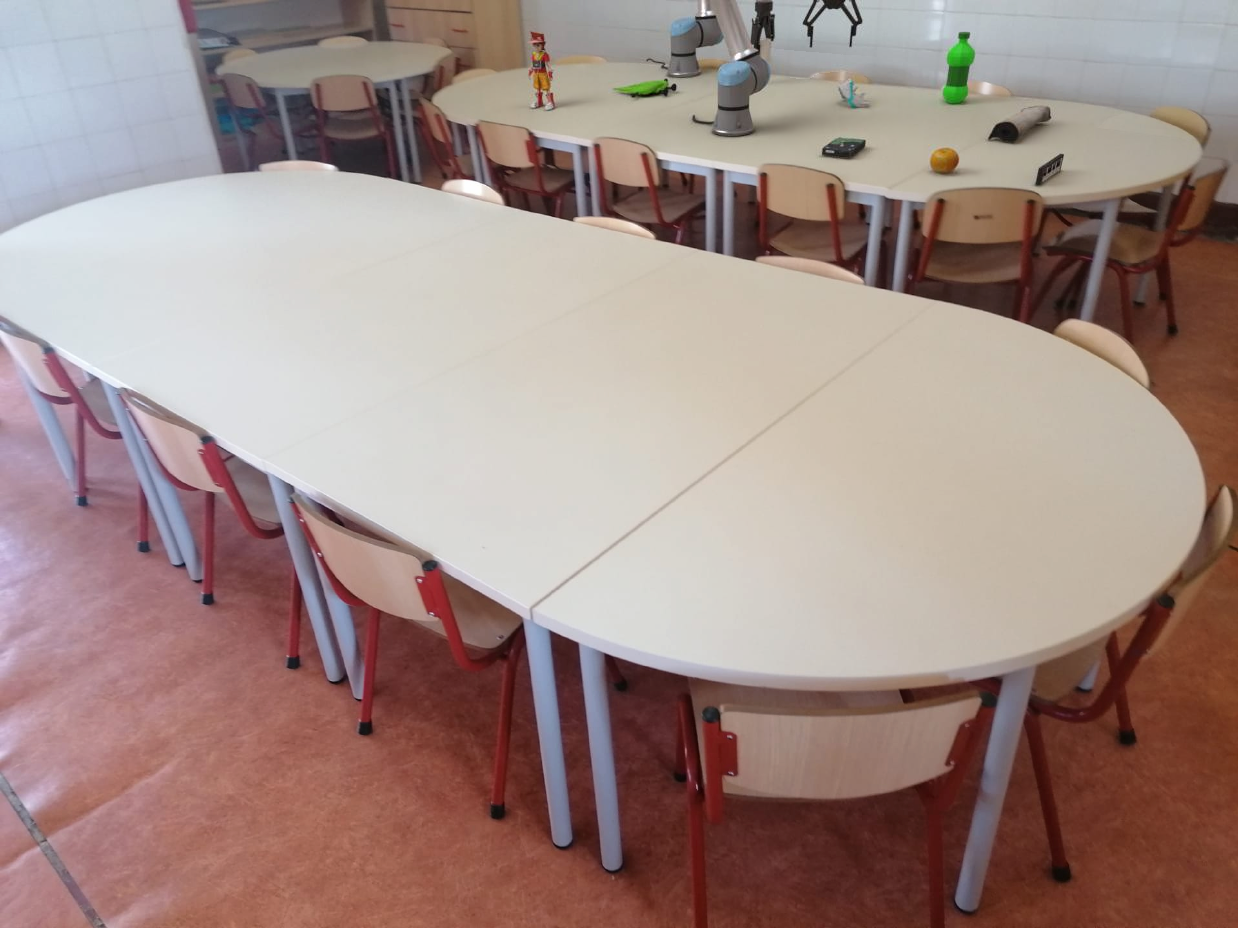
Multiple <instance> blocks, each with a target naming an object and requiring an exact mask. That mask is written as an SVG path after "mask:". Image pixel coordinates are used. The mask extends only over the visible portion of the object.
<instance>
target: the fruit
mask: <svg viewBox="0 0 1238 928" xmlns="http://www.w3.org/2000/svg"><path fill="white" fill-rule="evenodd" d="M959 163H960V156H959V154H958V152H957V151H956V150H955V149H953V148H951V147H942V148H938V149H936V150H934V151H933V153H932V154H931V155H930V159H929V166H930V168H931V169H932V170H933V171H934V172H936V173H939V174H940V173H943V174H944V173H945V174H946V173H951V172H953V171H954V170H956V168H957V167H958V165H959Z"/></svg>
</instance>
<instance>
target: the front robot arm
mask: <svg viewBox="0 0 1238 928" xmlns="http://www.w3.org/2000/svg"><path fill="white" fill-rule="evenodd" d="M710 1H711V4H712V7H713V9H714V12H715V15H716V18H717V20H718V23H719V26H720V29H721V31H722V34H723V37H724V38H723V40H724V42H725V46H726V48H727V50H728V53H729V56H730V59H729V62H726V63H723V64H722V65H720V67H719V68H718V70H717V71H718V72H717V74H718V75H717V111H716V114H715V118H714V120H712V121H706V120H698V119H695V118H696V114H693V115H692V121H693V122H695V123H697V124H704V125H712V133H713V134H715V135H717V136H721V137H741V136H746V135H750V134H752V133H754V127H755V126H754V122H753V118H752V115H751V111H750V96H752V95H754V94H757V93H759V92H761V91H762V90H763V89H764V88H765V87H766V86H767V85H768V83H769V81H770V79H771V67H770V65H769V64H770V63H767V61H766V60H764V59H763V58H761V57H760V54H759V51H758V50H757V49H755V48H754V46H753V45H752V44H751V38H750V36H749V33H748V30H747V27H746V25H745V22H744V19H743V16H742V14H741V11H740V8H739V5H738V2H737V0H710ZM820 1H822V3H823V4H822V6H821V7H820V8H819V10H818V11H817V12H816V13H815V15H814V16H813V17H812V18H811V15H812V13H813V11H814V9H815V8H816V6H817V3H819V2H820ZM846 1H847V0H812V4H811V5H810V6H809V7H810V8H809V9H808V11H807V13H806V15H805V17H804V19H803V21H802V25H803V26H806V27H807V29H806V30H807V32H806V36H807V37H808V38H809V48H813V41H814V40H813V39H814V25H813V24H814V23H815V22H816V21H817V19H819V17H820V16H821V15H822V14H823V12H824V11H825V10H826V9H828V10H840V9H841V11H842V12H843V13H844V15H845V16H846V17H847V19H848V20H849V22H850V23H851V25H850V35H849V48H852V47H853V37H856V35H857V28H858V26H859V25H863V18H862V15H861V12H860V9H859V7H858V4H857V1H856V0H848V1H849V2H851V6H852V8H853V11H854V13H855V16H856V18H855V17H854V16H853V15H852V13H851V12H850V10H849V9H848V8H847V6H846V4H845V2H846ZM810 18H811V19H810ZM809 19H810V20H809ZM856 19H857V20H856ZM808 20H809V21H808Z"/></svg>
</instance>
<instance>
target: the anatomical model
mask: <svg viewBox="0 0 1238 928" xmlns="http://www.w3.org/2000/svg"><path fill="white" fill-rule="evenodd" d="M853 86H854V87H853ZM858 89H859V86H855V83H854V81H853V80H851V78H846V80H845V82H844V83H840V84H838V87H837V90H838V92H839V95H840V96H841V98H842V100H846V101H847V102H848V104H849V105H850V107H851V108H858V107H860V106H869V105H870V104H871V103H870V101H865V100H864V97H865V95H867V92H865V91H863V92H861V93H860V94H856V91H857V90H858Z"/></svg>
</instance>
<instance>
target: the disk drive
mask: <svg viewBox="0 0 1238 928" xmlns="http://www.w3.org/2000/svg"><path fill="white" fill-rule="evenodd" d="M866 142H867V140H866V139H860V138H853V137H852V138H849V137H848V138H847V137H840V136H839V137H837V138H835V139H833V140H832V141H830V142H829V143H828V144H826V145H825V146H823V147H822V148H821V156H824V157H825V156H826V157H833V158H839V159H840V158H841V159H851V158H853V157H854V156H855V155H857V154H858V153H859V152H861V151H862V150H863V149H865V148H866Z"/></svg>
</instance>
